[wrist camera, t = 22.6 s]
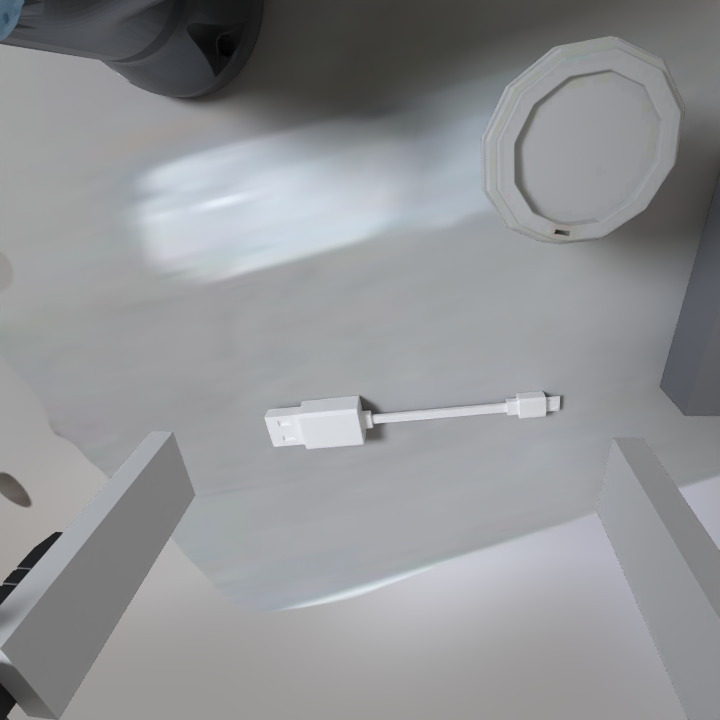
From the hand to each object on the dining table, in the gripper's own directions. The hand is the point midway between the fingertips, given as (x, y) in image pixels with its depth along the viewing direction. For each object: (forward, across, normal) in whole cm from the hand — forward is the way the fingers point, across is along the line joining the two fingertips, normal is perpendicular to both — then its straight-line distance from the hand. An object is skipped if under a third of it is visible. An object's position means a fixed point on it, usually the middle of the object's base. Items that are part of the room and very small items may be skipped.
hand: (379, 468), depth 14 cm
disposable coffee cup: (+32, -10, -7) cm, 34 cm away
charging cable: (+32, +1, +20) cm, 38 cm away
